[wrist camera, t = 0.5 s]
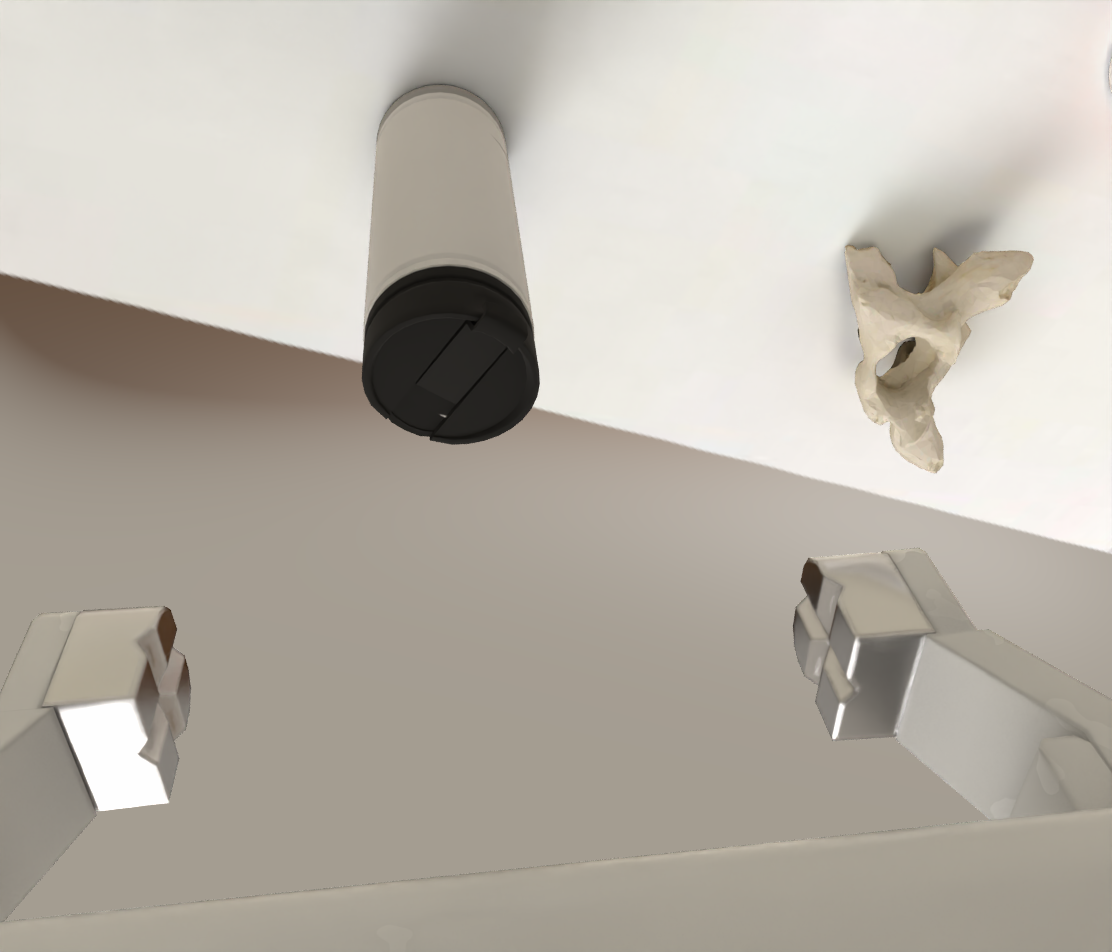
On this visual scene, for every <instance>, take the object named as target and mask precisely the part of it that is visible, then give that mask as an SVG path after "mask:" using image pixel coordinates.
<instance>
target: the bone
mask: <svg viewBox="0 0 1112 952" xmlns="http://www.w3.org/2000/svg"><path fill="white" fill-rule="evenodd" d="M845 248H846V251H845V259H846V266H847V273H848V280H849V287H850V294H851V300H852V304H853V307H854V309H855V312H856V316H857V322H858V326H859V328H858V335H859V340H860V343H861V346H862V349H863V352H864V360H863V361H861V362H860V363H859V365H858V366H857V369H856V372H855V385H856V388H857V392H858V395H859V398H860V401H861V404H862V406H863V409H864V412H865V413H866V415H867V416H868V418H869V419H870V420H872V421H873V422H874V423H876V424H879V425H883V424H884V423H886V422H890V437H891V441H892V444H893V446H894V448H895V450H896V451H897V452H898V453H899V454H900V455H901V456H902V457H903V458H904V459H905V460H907V461H908V462H910V463H912V464H914V465H916V466H917V467H919V468H921V469H925V470H927V471H929V472H931V473H937V471H938V470H940V468H941V467H942V466H943V441H942V437H941V435H940V434H939V432H938V430H937V427H936V425H935V422H934V419H933V415H934V411H935V407H934V405H933V402H932V399H931V397H932V393H933V391H934V389H935V387H936V386H937V385H938V383H939V382H940V381H941V380H942V379H943V378H944V376H945V375H946V373H947V372H948V370H949V369H950V367H951V365H953V364H955V362H956V359H957V356H958V355H959V352H960V350H961V348H962V347H963V345H964V343H965V341H966V340H967V338H968V337H969V335H970V333H971V330H970V328H969V327H968V325H967V323H966V321H967V320H968V319H969V318H971V317H973V316H975V315H977V314H979V313H981V312H984V311H987V310H989V309H993V308H996V307H1000V306H1002V305H1004V304H1005V303H1006V302H1008V301H1009V300H1010V298H1011V296H1012V292H1013V291H1014V290H1015V289H1016V287H1017V285H1018V283H1019V281H1020V280H1021V279H1022V277H1023V276H1025V274H1027V273H1028V271H1029V270H1030V269H1031V266H1032V263H1033V260H1034V259H1033V256H1032V255H1031V254H1030V253H1029V252H1023V251H981V252H977V253H973V254H972V255H971V256H970V257H969V258H968V259H967V260H966V261H965V262H963V263H961V264H960V266H959V267H958V266H957V265H956V264H955V263H954V262H952V260H951V259H950V258H949V257H948V256H947V255H946V254H945V253H944V252H942V251H941V250H939V249H937V248H934V249H933V261H934V267H933V273H932V276H931V278H930V281H929V284H928V286H927V288H926V289H925V291H924V292H923V293H921V294H920V293H917V294H914V293H910V292H908V291H906V290H904V289H903V288H901V287H899V286H898V284H897V281H896V275H895V273H894V271H893V269H892V267H891V266H890V265H891V264H889V263H888V262H887V261H886V260H885V259H884V257H883V256H882V255H881V253H880V251H879V249H878V248H876V247H868V248H862V249H858V250H856V248H855V247H854V246H851V245H847V246H845ZM909 337H915V341H908V342H904V343H903V344H902V345H901V346H900V347H899V349H898V352H897V355H896V359H895V361H894V364H893V365H892V367H891V369H889V370H888V371H887V372H886V373H885V374H884V375H883V376H881V377H879V376H876V364H877V363H878V362H879V361H880V360H881V359H882V358H884V357H885V356H886V355H887V354H888V353H889V352H891V351H892V350H893V349H894V348H895V347H896V346H897V344H898V343H899V342H901V341H903V340H905V339H907V338H909Z"/></svg>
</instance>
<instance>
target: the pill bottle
mask: <svg viewBox="0 0 1112 952" xmlns="http://www.w3.org/2000/svg"><path fill="white" fill-rule="evenodd" d="M1109 86H1110V90H1111V93H1112V58H1111V62H1110V67H1109Z"/></svg>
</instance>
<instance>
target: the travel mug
mask: <svg viewBox="0 0 1112 952" xmlns="http://www.w3.org/2000/svg"><path fill="white" fill-rule="evenodd" d="M363 342H364V351H363V366H362V382H363V387H364V391H365V394H366V396H367V398H368V400H369V402H370V404H371V406H373V407H374V408H375V409H376V410H377V411H378V412H379V413H380V414H381V415H382V416H383V417H385V418H386V419H387V418H389V420H390V421H391V422H392V423H394V424H396V425H397V426H399V427H401V428H402V429H404V430H406V431H409V432H411V433H414V434H416V435H419V436H429V437H430V440H431V441H436V442H441V443H447V444H469V443H475V442H480V441H485V440H488V439H490V438H493V437H496V436H499V435H501V434H502V433H504V432H506V431H508V430H510V429H511V428H513V427H514V426H515V425H516V424H518V423H519V422H520V421H521V420H523V418H524V417H525V416H526V415H527V413H528V412H529V411H530V410H531V408H532V406H533V404H534V402H535V400H536V398H537V395H538V390H539V385H540V381H539V368H538V362H537V355H536V348H535V342H534V326H533V319H532V312H531V305H530V299H529V292H528V286H527V279H526V273H525V266H524V260H523V253H522V247H521V240H520V233H519V227H518V220H517V214H516V207H515V201H514V194H513V188H512V181H511V175H510V168H509V162H508V155H507V149H506V142H505V137H504V133H503V130H502V126H501V124H500V122H499V120H498V118H497V116H496V115H495V113H494V112H493V111H492V110H491V108H490V107H489V106H488V105H487V104H486V103H485V102H484V101H482V100H481V99H480V98H479V97H478V96H476V95H474V94H472V93H470V92H469V91H467V90H464V89H461V88H458V87H455V86H448V85H429V86H424V87H421V88H417V89H414V90H412V91H410V92H408V93H406V94H405V95H403V96H402V97H400V98H399V99H398V100H397V101H396V102H394V103H393V104H392V106H391V107H390V108H389V109H388V111H387V112H386V113H385V115H384V117H383V119H382V121H381V123H380V126H379V130H378V134H377V143H376V157H375V171H374V186H373V200H372V214H371V228H370V242H369V257H368V271H367V285H366V299H365V314H364V329H363Z"/></svg>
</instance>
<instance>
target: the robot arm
mask: <svg viewBox="0 0 1112 952" xmlns="http://www.w3.org/2000/svg"><path fill="white" fill-rule="evenodd" d="M801 583H802V585H803V587H804V589H805V591H806V593H807V596H806V597H805V598H804V599H803V600H802V601H801V602H800V603H799V604H798V605H797V606H796V610H795V616H794V623H793V632H794V647H795V651H796V655H797V659H798V662H799V664H800V667H801V670H802V672H803V674H804V676H805V677H806V678H808V679H809V680H811V681H812V682H814V683H815V684H817V685H818V691H817V696H816V701H815V702H816V705H817V707H818V709H819V711H820V714H821V716H822V718H823V720H824V723H825V725H826V727H827V730H828V732H829V734H830V736H831V738H832V741H838V740H854V739H868V738H883V737H896V740H897V741H898V742H899V743H900V744H902V745H903V746H904V747H905V748H906V749H907V750H909V751H910V752H911V753H912V754H913V755H914V756H916V757H917V758H918V759H919V760H920V761H922V762H923V763H924V764H925V765H926V766H927V767H929V768H930V769H931V770H932V771H933V772H934V773H936V774H937V775H938V776H939V777H940V778H941V779H943V780H944V781H945V782H946V783H947V784H949V785H950V786H951V787H952V788H953V789H954V790H956V791H957V792H958V793H959V794H960V795H962V796H963V797H964V798H965V799H966V800H968V801H969V802H970V803H971V804H972V805H973V806H974V807H976V808H977V809H978V810H979V811H981V812H982V813H983V814H984V815H985V816H986V817H988V818H989V819H990V820H985V821H975V822H965V823H956V824H946V825H937V826H926V827H918V828H907V829H898V830H888V831H878V832H869V833H859V834H850V835H840V836H831V837H821V838H811V839H801V840H791V841H781V842H773V843H762V844H753V845H742V846H733V847H722V848H713V849H703V850H693V851H683V852H673V853H664V854H654V855H644V856H635V857H625V858H614V859H605V860H595V861H585V862H576V863H566V864H558V865H547V866H537V867H527V868H518V869H508V870H498V871H489V872H479V873H469V874H459V875H450V876H440V877H430V878H421V879H411V880H401V881H392V882H383V883H372V884H362V885H353V886H343V887H334V888H323V889H314V890H304V891H295V892H285V893H275V894H266V895H255V896H247V897H236V898H226V899H217V900H207V901H198V902H187V903H178V904H168V905H159V906H149V907H139V908H129V909H120V910H110V911H100V912H92V913H91V912H90V913H81V914H71V915H61V916H51V917H42V918H33V919H22V920H14V921H5V920H6V919H7V918H8V916H9V915H10V914H11V913H12V912H13V911H14V910H15V908H16V907H17V906H18V905H19V904H20V903H21V901H22V900H23V899H24V898H25V897H26V896H27V894H28V893H29V892H30V891H31V890H32V889H33V888H34V887H35V885H36V884H37V883H38V882H39V880H41V878H42V877H43V876H44V875H45V874H46V873H47V872H48V871H49V869H50V868H51V867H52V866H53V865H54V864H55V862H56V861H57V860H58V859H59V858H60V857H61V856H62V854H63V853H64V852H65V851H66V850H67V849H68V848H69V846H70V845H71V844H72V843H73V842H74V841H75V840H76V838H77V837H78V836H79V835H80V834H81V833H82V832H83V830H84V829H85V828H86V827H87V826H88V824H89V823H90V822H91V821H92V820H93V819H94V818H95V817H96V812H95V811H103V810H112V809H120V808H129V807H137V806H146V805H153V804H162V803H169V800H170V796H171V792H172V787H173V783H174V779H175V774H176V770H177V766H178V762H179V756H178V752H177V749H176V746H175V742H174V740H175V739H176V738H178V737H179V735H181V733H183V732H184V731H185V730H186V727H187V722H188V717H189V712H190V693H191V686H190V678H189V670H188V666H187V663H186V659H185V656H184V655H183V654H182V653H181V652H179V651H178V650H176V649H175V648H174V647H173V643H174V639H175V635H176V631H177V628H176V625H175V622H174V619H173V616H172V613H171V610H170V609H169V608H167V607H165V606H155V607H136V608H118V609H98V610H83V611H75V612H55V613H41V614H39V615H38V616H37V617H36V618H35V619H33V621H32V622H31V624H30V626H29V628H28V630H27V633H26V635H25V637H24V640H23V642H22V644H21V646H20V649H19V651H18V653H17V655H16V658H15V660H14V662H13V664H12V667H11V669H10V671H9V673H8V676H7V678H6V680H5V683H4V685H3V687H2V689H1V692H0V952H1112V699H1111V698H1109V697H1107V696H1105V695H1103V694H1102V693H1100V692H1098V691H1096V690H1095V689H1093V688H1091V687H1089V686H1087V685H1086V684H1084V683H1082V682H1080V681H1079V680H1077V679H1075V678H1073V677H1072V676H1070V675H1068V674H1066V673H1065V672H1062V671H1061V670H1059V669H1058V668H1056V667H1054V666H1052V665H1050V664H1049V663H1047V662H1045V661H1043V660H1042V659H1040V658H1038V657H1036V656H1035V655H1033V654H1031V653H1029V652H1027V651H1026V650H1024V649H1022V648H1020V647H1019V646H1017V645H1015V644H1013V643H1012V642H1010V641H1008V640H1006V639H1005V638H1003V637H1001V636H999V635H997V634H996V633H994V632H992V631H990V630H989V629H987V630H977V628H976V627H975V625H974V624H973V622H972V621H971V619H970V618H969V616H968V615H967V613H966V612H965V610H964V609H963V607H962V606H961V604H960V603H959V601H958V600H957V598H956V597H955V595H954V594H953V592H952V591H951V589H950V588H949V586H948V585H947V583H946V582H945V580H944V579H943V577H942V576H941V574H940V573H939V571H938V570H937V568H936V567H935V565H934V564H933V562H932V561H931V559H930V558H929V556H928V555H927V553H926V552H925V551H923V550H921V549H920V548H912V549H901V550H890V551H882V552H881V553H878V552H876V553H863V554H851V555H839V556H827V557H814V558H808V560H807V562H806V563H805V565H804V568H803V573H802V578H801Z"/></svg>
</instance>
